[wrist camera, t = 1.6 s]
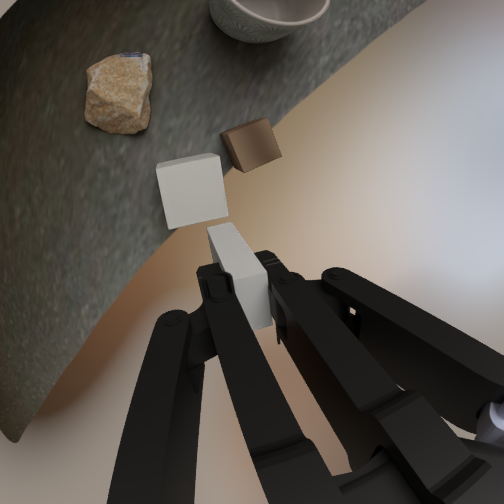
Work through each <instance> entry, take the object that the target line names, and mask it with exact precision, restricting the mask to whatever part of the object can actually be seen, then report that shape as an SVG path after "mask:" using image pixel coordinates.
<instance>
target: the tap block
mask: <svg viewBox="0 0 504 504" xmlns="http://www.w3.org/2000/svg"><path fill="white" fill-rule="evenodd" d="M156 173H157V178H158V183H159V188H160V193H161V197H162V202H163V207H164V211H165V216H166V220H167V224H168V229H169V230H170V229H174V228H178V227H183V226H187V225H191V224H195V223H200V222H205V221H209V220H214V219H218V218H223V217H228V209H227V202H226V196H225V189H224V183H223V176H222V169H221V162H220V156H218V155H216V154H213V153H207V154H201V155H196V156H191V157H186V158H181V159H176V160H172V161H167V162H162V163H158V164H157V167H156Z"/></svg>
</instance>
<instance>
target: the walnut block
mask: <svg viewBox="0 0 504 504" xmlns="http://www.w3.org/2000/svg"><path fill="white" fill-rule="evenodd" d="M220 135H221V138H222V140H223V142H224V145H225V147H226V149H227V151H228V154H229V156H230V158H231V161H232V163H233V165H234V168H236V169H237V170H240V171H241V172H243V173H246V172H248V171H250V170H252V169H255V168H257V167H259V166H261V165H264V164H266V163H268V162H270V161H273V160H275V159H277V158H280V157H282V155H281V152H280V150H279V147H278V144H277V141H276V139H275V136H274V134H273V131H272V128H271V126H270V123H269V121H268V118H262V119H254V120H252V121H249V122H247V123H244V124H242V125H239V126H237V127H234V128H232V129H230V130H227V131H225V132H222V133H220Z"/></svg>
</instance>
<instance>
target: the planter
mask: <svg viewBox="0 0 504 504" xmlns="http://www.w3.org/2000/svg"><path fill="white" fill-rule="evenodd" d="M329 4H330V0H209V9H210V14H211V16H212V19H213V21H214V22H215V24H216V25H217V26H218V27H219V28H220V29H221V30H222V31H223V32H224V33H225V34H227V35H228V36H230V37H232V38H234V39H237V40H239V41H243V42H248V43H266V42H271V41H274V40H277V39H280V38H282V37H285V36H287V35H289V34H291V33H293V32H295V31H297V30H298V29H300V28H302V27H304V26H306V25H308V24H310V23H312V22H314V21H316V20H317V19H319V18H320V17H321V16H322V15H323V14H324V13H325V12H326V10H327V9H328V7H329Z"/></svg>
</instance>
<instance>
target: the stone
mask: <svg viewBox="0 0 504 504" xmlns="http://www.w3.org/2000/svg"><path fill="white" fill-rule="evenodd" d="M151 70H152V66H151V58H150V56H149V55H147V54H144V53H142V52H133V53H121V54H118V55H113V56H109V57H107V58H105V59H104V60H102V61H101V62H98V63H96V64H94V65H93V66H91V67H90V68H88V69H87V70H86V74H87V76H88V77H87V80H88V90H87V93H86V109H85V114H84V115H85V120H86V121H88V122H89V123H90V124H92V125H94V126H95V127H99V128H100V129H102V130H104V131H107V132H108V133H109V134H135V133H137V132H138V131H141V130H143V129H146V128H147V126H148V124H149V120H150V114H151V106H150V101H149V93H150V90H151V87H152V80H153V76H152V71H151Z"/></svg>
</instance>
